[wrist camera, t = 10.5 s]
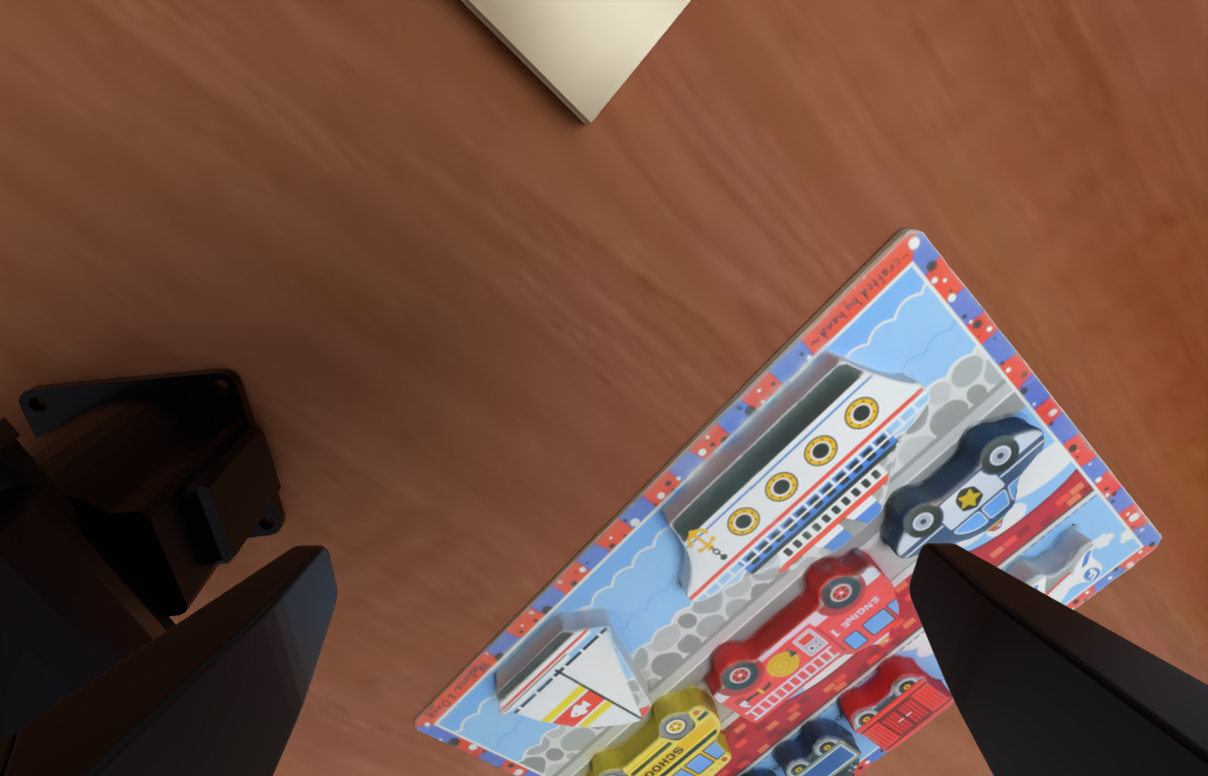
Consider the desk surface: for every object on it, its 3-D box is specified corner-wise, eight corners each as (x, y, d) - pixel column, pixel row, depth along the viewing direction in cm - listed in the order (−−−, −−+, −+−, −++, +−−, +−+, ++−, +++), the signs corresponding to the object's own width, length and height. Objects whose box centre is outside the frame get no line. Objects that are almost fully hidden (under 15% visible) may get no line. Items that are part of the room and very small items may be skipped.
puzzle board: (896, 218, 22) (944, 227, 19) (1135, 520, 30) (1190, 553, 28) (409, 710, 28) (399, 764, 25) (722, 849, 36) (737, 900, 34)
